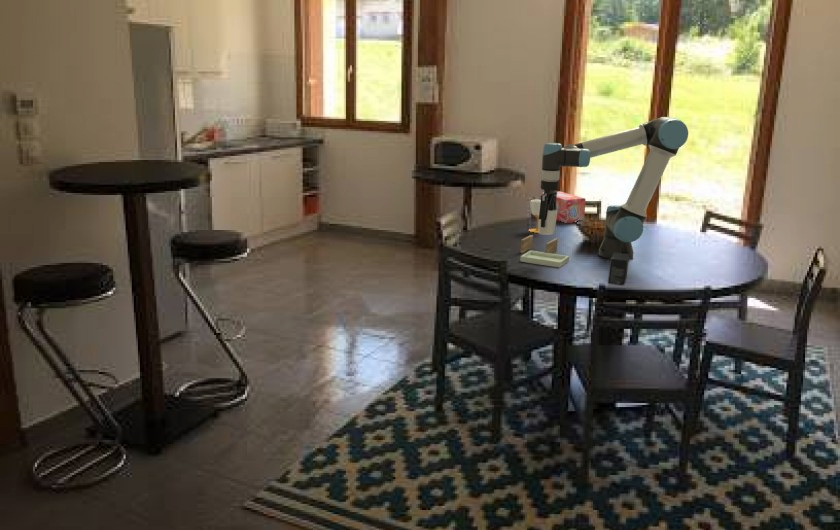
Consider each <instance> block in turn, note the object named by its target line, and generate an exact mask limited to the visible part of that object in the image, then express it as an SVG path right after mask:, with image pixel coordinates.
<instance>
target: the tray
mask: <svg viewBox="0 0 840 530" xmlns="http://www.w3.org/2000/svg"><path fill="white" fill-rule="evenodd" d="M519 259H520V260H519V261H520V263H521V262H522V263H523V262H524V263H528V264H535V265H542V266H548V267H553V268H561V267H563V266H564V265H566V264H567V263H568V261H570V256H569V255H565V254H564V255H563V254H557V253H556V254H555V253H553V254H551V253H546V252H544V251H536V250H530V249H529V250H528V251H526V253H525V252H524V253H523V254H522V255H520V258H519ZM565 263H566V264H565Z"/></svg>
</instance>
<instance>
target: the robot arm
mask: <svg viewBox="0 0 840 530" xmlns="http://www.w3.org/2000/svg"><path fill="white" fill-rule="evenodd" d="M688 137H689V129H688V126H687V124H686V123H684V121H682V120H681V119H679V118H675V117H669V116H661V117H658V118H656V119H652V120H650V121H646V122H643V123H640V124H639V125H638V126H637V127H633V128H631V129H626V130H623V131H618V132H614V133H611V134H608V135H604V136H601V137H596V138H593V139H589V140H586V141H582V142H579V143H575V144H571V143H570V144H567V145H564V147H563V146H562V144H561V143H558V142H546V143H545V144H544V145H543V150H542V161H541V162H542V163H541V171H540V174H541V180H540V190H543V192H544V194H543V196H542V194H541V195H540V199H541V203H540V212H539V218H538V219H541V222H540V233H539V235H543V236H546V232H547V220H546V219H547V213H548V210H550V211H553V210H556V197H557V192H558V191H559V186H560V182H559V180H560V174H561V173H560V171H561V167H571V168H572V167H573V168H586V167H589V165H590V163H591V158H594V157H598V156H602V155H607V154H611V153H614V152H617V151H622V150H626V149H630V148H634V147H637V146H641V145H643V146H646V147H647V146H648V147H649V152H648V155H647V157H646V158H645V161H644V163H643V165H642V167H641V170H640V172H639V174H638V176H637V179H636V180H635V183H634V185H633V187H632V190H631V191H630V194H629V195H628V198H627V200H626V202H625V203H623V204H620V205H612V204H611V205H607V207H606V211H605V224H604V236H603V237H604V238H603V240H602V242H601V244H600V246H599V249H598V256H600V257H601V258H605V259H610V260H611V257H612V255H613V253H614V252H615V253H623V254H630V255H629V260H631V259H633V257H634V248H633V245H632V243H633V242H636V241H638V239H640V238H641V236H642V235H643V233H644V223H645V221H646V219H647V212H646V210H647V208H648V206H649V203H650V202H651V200H652V198H653V196H654V193H655V191H656V189H657V187H658V185H659V183H660V180H661V178H662V176H663V175H664V173H665V170H666V168H667V165H668V164H669V161H670V159H671V158H673V157H675V156H676V155H677V153H678V152H679V149H680V148H681V147H683V146H684V145H685V144H686V142H687V141H688Z"/></svg>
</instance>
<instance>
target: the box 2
mask: <svg viewBox="0 0 840 530" xmlns="http://www.w3.org/2000/svg"><path fill="white" fill-rule="evenodd" d="M629 255H630V254H623V253H615V252H614V253H613V255H612V257H611V259H610V262H609V270H608V277H607V279H608V280H607V284H610V285H617V286H625V283H626V280H627V278H628V271H629V270H628V269H629V263H630V262H629V261H630V259H629Z"/></svg>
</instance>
